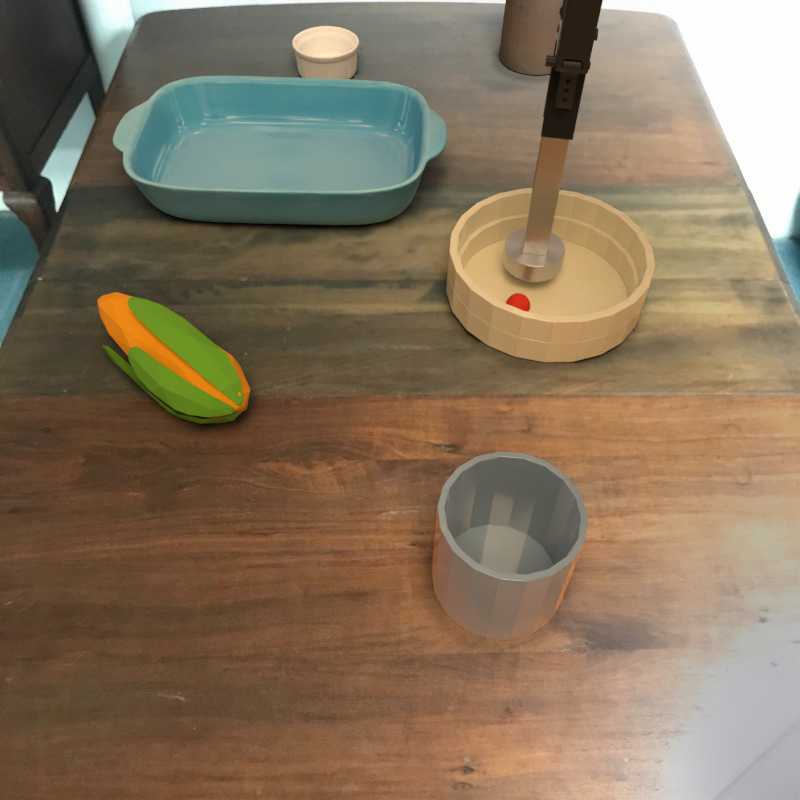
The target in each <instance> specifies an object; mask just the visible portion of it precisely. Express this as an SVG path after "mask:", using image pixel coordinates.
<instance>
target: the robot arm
mask: <svg viewBox="0 0 800 800" xmlns="http://www.w3.org/2000/svg"><path fill="white" fill-rule="evenodd" d="M603 2H604V0H563V5H562V6H561V7H560V12H559V14H560V16H561V17H560V19H561V20H562V25H561V31H560V37H559V43H558V49H557V54H556V55H555V51H556V45H557V40H556V42H555V48H554V54H553V56H551V55H547V57H546V63H545V66H548V67H551V72H550V74H549V79H548V84H547V89H546V90H547V91H546V96H545V101H544V108H543V115H542V117H543V120H542V125H541V132H540V138H541V137H549V138H558V139H567V140H570V141H573V140H574V135H575V131H576V125H577V120H578V116H579V111H580V105H581V101H582V95H583V91H584V86H585V81H586V75H587V74H588V73H589V71H590V69H591V65H592V63H591V57H592V52H593V48H594V44H595V41H598V38H599V28H598V24H599V20H600V14H601V10H602V6H603ZM559 27H560V24H559V26H558V28H557V32H558V33H559Z"/></svg>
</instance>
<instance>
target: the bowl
mask: <svg viewBox="0 0 800 800" xmlns="http://www.w3.org/2000/svg"><path fill="white" fill-rule="evenodd" d="M532 188H533V187H524V188H519V189H512V190H508V191H503V192H499V193H495V194H494V195H491V196H489V197H487V198H485V199H483V200H480V201H478V202H476V203H474V205H473V206H472V207H470V208H469V209H468V210H466V211H465V212H464V213H462V214H461V216H460V217H459V219H458V221H457V222H456V224H455V226H454V227H453V229H452V231H451V233H450V239H449V240H450V241H449V249H448V261H447V262H448V264H447V276H446V286H445V287H446V289H445V293H446V296H447V299H448V302H449V305H450V308H451V312H452V313H453V314H454V316H455V317H456V318H457V319H458V321H459V322H460V324H461V325H462V326H463V327H464V328H465V330H466V331H467V332H468V333H470V334H471V335H473V336H474V337H476V339H478V340H479V341H480V342H482V343H483V344H485V345H486V346H487V347H490V348H492V349H495V350H497V351H500V352H502V353H505V354H507V355H509V356H511V357H515V358H518V359H519V358H520V359H524V360H528V361H534V362H539V363H574V362H578V361H582V360H585V359H590V358H593V357H597V356H601V355H603V354H605V353H607V352H608V351H610V350H612V349H614V348H616V347H617V346H619V345H621V344H622V343H623V342H624V341H625V340H626V338H627V337H628V336H629V335H630V334H631V333H632V332H633V330H634V329H635V328H636V326H637V324H638V321H639V318H640V315H641V312H642V310H643V307H644V303H645V301H646V298H647V295H648V292H649V289H650V287H651V283H652V281H653V276H654V274H655V270H656V263H655V255H654V249H653V246H652V244H651V242H650V241H649V240H648V238H647V236H646V234H645V233H644V231H643V230H642V228H641V227H639V225H638V224H636V223H635V222H634V221H633V220H632V219H631V218H630V217H629V216H628V215H627V214H625V213H624V212H622V211H621V210H619V209H617V208H616V207H614V206H612V205H610V204H609V203H607V202H605V201H603V200H601V199H598V198H595V197H592V196H589V195H587V194H583V193H581V192H577V191H572V190H566V189H560V191H559V196H558V201H557V206H556V210H555V215H554V220H553V225H552V230H551V233H553V234H555V235H556V236H558V237H559V238H560V239H561V240H562V242H563V243H564V246H565V255H564V259H563V264H562V268H561V270H560V272H559V273H558V274H557V275H556V276H555V277H554V278H552V279H549V280H546V281H542V282H530V281H525V280H521V279H519V278H517V277H515V276H513V275H512V274H510V273H509V272H508V271H507V269H506V268H505V266H504V263H503V255H504V248H505V242H506V240H507V238H508V237H509V236H510V235H511V234H512V233H513V232H515V231H518V230H520V229H525V228H526V224H527V218H528V212H529V206H530V200H531V194H532ZM516 293H520V294H523V295H525V296H526V297H527V298H528V299H529V301H530V310H529V312H528V311H523V310H521V309H518V308H516V307H513V306H511V305H508V304H506V301H507V299H508V298H509V297H510V296H511V295H513V294H516Z"/></svg>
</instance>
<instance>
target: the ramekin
mask: <svg viewBox="0 0 800 800" xmlns="http://www.w3.org/2000/svg"><path fill="white" fill-rule="evenodd" d="M291 46H292V49H293V50H294V55H295V60H296V68H297V71H298V74H299V75H300V78H324V79H352V78H353V77H354V76H355V74H356V72H357V66H358V50H359V47H360V39H359V37H358V36H357V34H356V33H354V32H353V31H351V30H349V29H347V28H343V27H340V26H333V25H318V26H313V27H309V28H306V29H303V30H301V31H300V32H299V33H297V34H296V35H295V36H294V37H293V38H292V45H291Z"/></svg>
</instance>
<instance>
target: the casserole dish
mask: <svg viewBox="0 0 800 800" xmlns="http://www.w3.org/2000/svg"><path fill="white" fill-rule="evenodd" d="M447 142H448V127H447V124H446V121H445V120H444V118H443V117H442V116H441V115H439V114H438V113H437V112H436V111H434V110H433V109H431V108H430V107H429V103H428V101H427V99H426V98H425V97H424V96H423V94H421V92H419V91H418V90H416V89H414V88H412V87H410V86H407V85H403V84H400V83H395V82H391V81H384V80H383V81H382V80H371V79H352V78H350V79H324V78H302V77H291V76H290V77H288V76H260V75H201V76H192V77H184V78H182V79H178V80H177V79H176V80H174V81H171V82H168V83H167V84H165V85H163V86H162V87H161V86H160V88H159V89H157V90H156V91H155V92H154V93H153V94H152V95H151V96H150V97H149V98H148V99H147V100H146V101H144V102H142V103H140V104H138V105H137V106H135V107H133V108H131V109H130V110H129V111H127V112H126V113H125V114H124V115H123V117H122V118H121V119H120V121H119V122H118V124H117V125H116V128H115V131H114V132H113V137H112V144H113V146H114V148H115V149H116V150H117V151H118V152H120V153H122V165H123V166H122V167H123V169H124V171H125V173H126V175H127V176H128V177H129V179H131V181H132V182H133V184H135V186H136V187H137V189H138V190H139V192H141V193H142V194H143V196H144V197H145V198H146V200H148V201H149V202H150V203H151V205H153V206H154V207H155V208H156V209H158V210H159V211H161V212H163V213H165V214H167V215H170V216H172V217H175V218H179V219H183V220H190V221H198V222H210V223H230V224H231V223H233V224H235V223H236V224H263V225H264V224H265V225H307V226H309V225H312V226H313V225H315V226H316V225H317V226H359V225H361V226H363V225H371V224H378V223H382V222H385V221H389V220H390V219H393V218H395V217H397V216H398V215H400V214H402V213H403V212H404V211H405V210H406V209H407V208H408V206H409V205H410V204H411V202H412V201H413V200H414V197H415V195H416V193H417V190H418V188H419V185H420V182H421V180H422V177H423V174H424V171H425V169H426V166H427V164H429V162H431V161H432V160H434V159H436V158H437V157H439V156H440V155H441V154H442V153H443V152H444V150H445V148H446V146H447V144H448V143H447Z"/></svg>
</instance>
